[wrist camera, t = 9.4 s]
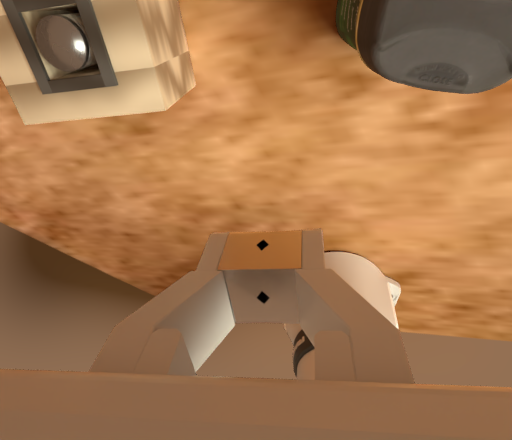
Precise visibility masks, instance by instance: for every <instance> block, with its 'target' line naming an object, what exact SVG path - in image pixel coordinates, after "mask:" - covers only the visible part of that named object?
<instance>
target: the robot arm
mask: <svg viewBox="0 0 512 440" xmlns="http://www.w3.org/2000/svg"><path fill="white" fill-rule="evenodd" d="M400 293H401V288H400V284H399V283H398V282H396V281H394V280H393V279H391V278H388V277H386V276H385V275H383V274H382V273H381V271H380V270H379V269H378V268H377V267H376V266H375V265H374V264H373V263H372V262H370V261H369V260H367V259H365V258H363V257H361V256H359V255H356V254H352V253H347V252H326V253H324V243H323V231H322V229H321V228H319V229H305V230H294V231H274V232H266V231H264V232H216V233H212V234H210V236H209V238H208V241H207V243H206V246H205V248H204V251H203V253H202V256H201V258H200V261H199V264H198V266H197V269H196V271H190V272H188V273H187V274H186V275H184V276H183V277H182V278H180V279H179V280H177V281H176V282H175V283H173V284H172V285H171V286H169V287H168V288H166V289H165V290H164V291H162V292H161V293H160V294H158V295H157V296H155V297H154V298H153V299H151V300H150V301H149V302H147V303H146V304H144V305H143V306H142V307H140V308H139V309H138V310H136V311H135V312H133V313H132V314H131V315H129V316H128V317H127V318H125V319H124V320H123V321H121V322H120V323H118V324H117V325H116V326H115V327H114V328H113V330H112V332H111V334H110V335H109V337H108V339H107V340H106V342H105V344H104V345H103V347H102V349H101V351H100V352H99V354H98V356H97V358H96V359H95V361H94V363H93V365H92V366H91V368H90V370H89V371H88V372H80V371H52V370H24V369H0V440H512V387H486V386H485V387H484V386H459V385H458V386H457V385H433V384H415V382H414V379H413V375H412V372H411V368H410V365H409V361H408V358H407V354H406V351H405V347H404V344H403V341H402V337H401V334H400V330H399V329H398V322H397V318H396V313H395V308H394V307H395V305H396V302H397V300H398V298H399V296H400ZM235 323H283V325H284V330H286V331H287V334H288V336H289V338H290V340H291V342H292V344H293V345H294V349H293V365H294V372H295V375H296V377H297V379H294V380H293V379H269V378H243V377H216V376H197V374H196V371H197V370H198V369H199V368H200V367H201V365H202V364H203V363H204V362H205V361H206V359H207V358H208V357H209V356H210V355H211V354H212V352H213V351H214V350H215V349H216V347H217V346H218V345H219V344H220V343H221V342H222V340H223V339H224V338H225V337H226V336H227V334H228V333H229V332H230V331H231V330H232V328H233V327H234V326H235Z"/></svg>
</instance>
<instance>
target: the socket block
mask: <svg viewBox="0 0 512 440" xmlns="http://www.w3.org/2000/svg"><path fill="white" fill-rule="evenodd" d="M74 13H80V16H81V19H82V21H83V24H84V27H85V30H86V33H87V36H88V39H89V41H90V44H91V47H92V50H93V53H94V56H95V59H96V61H97V64H94V65H91V66H88V67H85V68H81V69H78V70H75V71H71V72H67V71H62V70H59V69H57V68H55V67H54V66H52V65H51V64H50V63H49V62H48V61H47V60H46V59H45V58H44V56H43V55H42V53H41V52H40V50H39V48H38V45H37V41H36V27H37V24H38V23H39V21H40V20H41V19H42V18H43V17H46V16H49V15H61V14H74ZM0 76H1V78H2V80H3V82H4V84H5V86H6V88H7V90H8V92H9V94H10V96H11V98H12V100H13V102H14V104H15V106H16V108H17V110H18V112H19V114H20V116H21V118H22V120H23V122H24V124H25V125H31V124H41V123H51V122H60V121H70V120H80V119H90V118H99V117H109V116H119V115H129V114H139V113H148V112H158V111H166V110H167V109H168V108H170V107H171V106H172V105H173V104H174V103H176V102H177V101H178V100H179V99H180V98H182V97H183V96H184V95H185V94H186V93H188V92H189V91H190V90H191V89H192V88H194V87H195V86H196V82H195V78H194V73H193V68H192V63H191V59H190V54H189V49H188V45H187V40H186V35H185V30H184V26H183V21H182V16H181V11H180V7H179V2H178V0H0Z"/></svg>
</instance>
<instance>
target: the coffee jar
mask: <svg viewBox="0 0 512 440" xmlns="http://www.w3.org/2000/svg"><path fill="white" fill-rule="evenodd" d="M336 26H337V30H338V33H339V35H340V36H341V38H342V39H343V40H344V41H345V42H346V43H347V44H349V45H350V46H351V47H353V48H354V49H356V50H357V51H358V53H359V56H360V58H361V60H362V61H363V62H364V64H365V65H366V66H367V67H368V68H370V69H371V70H372V71H374V72H376V73H377V74H379V75H381V76H382V77H384V78H386V79H388V80H391V81H393V82H397V83H401V84H405V85H409V86H412V87H417V88H422V89H427V90H433V91H442V92H451V93H461V94H472V93H479V92H483V91H487V90H490V89H492V88H495V87H497V86H499V85H501V84H503V83H505V82H507V81H508V80H510V79H511V78H512V0H338V3H337V9H336Z"/></svg>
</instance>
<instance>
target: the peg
mask: <svg viewBox="0 0 512 440" xmlns="http://www.w3.org/2000/svg"><path fill="white" fill-rule="evenodd" d="M36 41H37V45H38V48H39V50H40V52H41V53H42V55H43V56H44V58H45V59H46V60H47V61H48V62H49V63H50V64H51V65H52V66H54V67H55V68H57V69H59V70H62V71H67V72H71V71H75V70H78V69H81V68H85V67H88V66H91V65H94V64H97V61H96V59H95V56H94V53H93V50H92V47H91V44H90V41H89V39H88V36H87V33H86V30H85V27H84V24H83V21H82V19H81V16H80V13H74V14H61V15H49V16H46V17H43V18H42V19H41V20H40V21H39V23H38V24H37V27H36Z"/></svg>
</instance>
